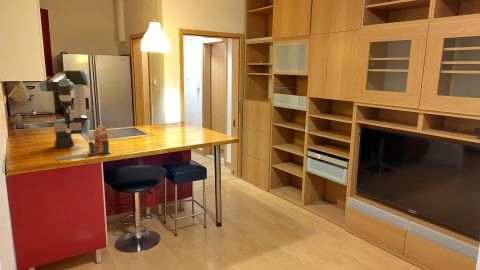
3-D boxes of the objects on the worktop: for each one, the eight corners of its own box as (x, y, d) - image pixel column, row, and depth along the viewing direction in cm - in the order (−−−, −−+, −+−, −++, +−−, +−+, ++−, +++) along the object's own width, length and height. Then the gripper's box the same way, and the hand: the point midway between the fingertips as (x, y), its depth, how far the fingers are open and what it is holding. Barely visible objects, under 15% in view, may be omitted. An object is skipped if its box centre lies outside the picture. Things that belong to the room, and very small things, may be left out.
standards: (88, 154, 260) (87, 142, 259) (108, 151, 268) (107, 140, 266) (89, 156, 255) (88, 144, 253) (110, 153, 262) (109, 142, 260)
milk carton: (93, 149, 276) (92, 125, 272) (103, 147, 284) (102, 123, 280) (100, 150, 271) (98, 126, 267) (110, 148, 279) (109, 125, 275)
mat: (55, 157, 250) (55, 157, 250) (84, 154, 260) (84, 153, 260) (56, 160, 242) (56, 160, 242) (86, 157, 252) (86, 156, 252)
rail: (54, 131, 244) (53, 124, 243) (81, 129, 253) (80, 122, 252) (54, 131, 241) (53, 125, 240) (81, 129, 250) (81, 123, 249)
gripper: (58, 99, 247) (61, 131, 252) (60, 102, 234) (63, 134, 238) (70, 99, 251) (72, 130, 256) (72, 101, 238) (75, 133, 242)
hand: (68, 132), depth 247 cm, fingers closed on rail, 3 cm apart
